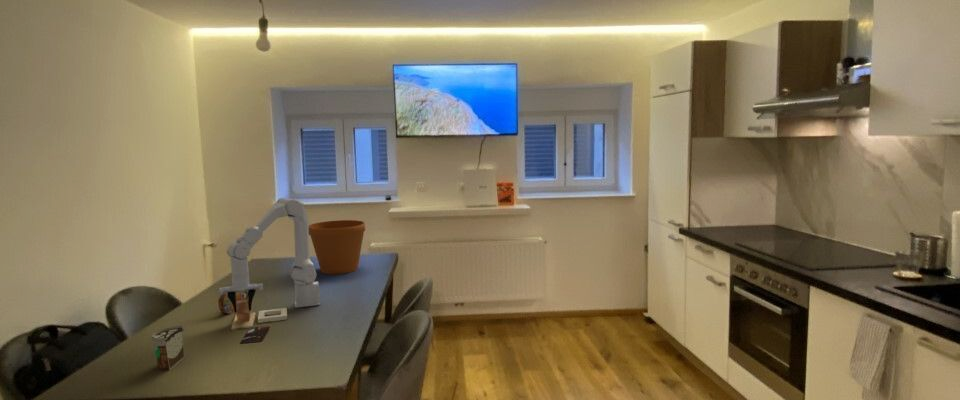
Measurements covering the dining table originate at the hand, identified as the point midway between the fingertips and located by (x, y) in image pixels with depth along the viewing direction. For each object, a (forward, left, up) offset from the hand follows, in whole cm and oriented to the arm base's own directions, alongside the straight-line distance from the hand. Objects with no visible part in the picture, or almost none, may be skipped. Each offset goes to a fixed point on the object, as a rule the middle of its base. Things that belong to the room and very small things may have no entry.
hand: (243, 310), depth 199 cm
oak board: (0, 0, -4) cm, 4 cm away
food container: (+19, +33, -4) cm, 38 cm away
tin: (+5, -17, -4) cm, 18 cm away
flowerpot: (-40, -69, -4) cm, 80 cm away
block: (0, 0, -4) cm, 4 cm away
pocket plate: (-10, -1, -4) cm, 11 cm away
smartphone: (-5, +17, -5) cm, 18 cm away
